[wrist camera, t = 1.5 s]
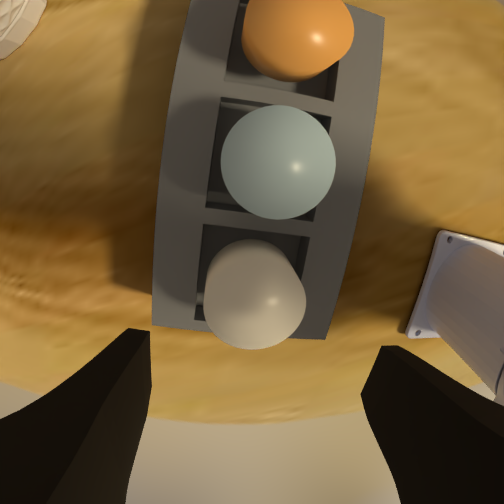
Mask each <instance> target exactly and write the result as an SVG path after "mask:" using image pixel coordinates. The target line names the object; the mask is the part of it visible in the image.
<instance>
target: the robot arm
mask: <svg viewBox="0 0 504 504" xmlns="http://www.w3.org/2000/svg"><path fill="white" fill-rule="evenodd" d="M448 237H449V240H448V241H447V239H448ZM417 330H418V331H417ZM416 331H417V332H416ZM405 335H406V336H407V337H408V338H436V337H441V338H442V339H443V340H444V341H445V342H446V343H447V344H448V345H449V346H450V347H451V348H452V349H453V350H454V351H455V352H456V353H457V354H458V355H459V356H460V357H461V358H462V359H463V360H464V361H465V362H466V363H467V364H468V365H469V367H470V368H471V369H472V370H473V371H474V372H475V373H476V374H477V375H478V376H479V377H480V378H481V379H482V381H483V382H484V383H485V384H486V385H487V386H488V387H489V388H490V389H491V390H492V391H493V392H494V394H495V395H496V397H495V399H494V401H491V400H489V399H487V398H485V397H483V396H481V395H479V394H477V393H476V392H474V391H472V390H471V389H469V388H467V387H465V386H464V385H462V384H460V383H459V382H457V381H455V380H454V379H452V378H451V377H449V376H447V375H446V374H444V373H443V372H441V371H440V370H438V369H436V368H435V367H433V366H432V365H430V364H429V363H427V362H425V361H424V360H422V359H421V358H419V357H417V356H416V355H414V354H412V353H411V352H409V351H407V350H405V349H404V348H401V347H399V346H397V345H393V346H381V348H380V351H379V353H378V356H377V358H376V360H375V363H374V365H373V367H372V370H371V372H370V374H369V377H368V379H367V381H366V383H365V385H364V388H363V390H362V392H361V398H362V402H363V406H364V409H365V413H366V416H367V419H368V421H369V424H370V427H371V429H372V431H373V433H374V436H375V438H376V440H377V442H378V444H379V447H380V449H381V451H382V453H383V455H384V458H385V459H386V462H387V464H388V466H389V469H390V471H391V473H392V476H393V479H394V481H395V484H396V488H397V491H398V494H399V498H400V502H401V504H504V245H503V244H499V243H495V242H491V241H488V240H484V239H480V238H475V237H471V236H467V235H463V234H459V233H454V232H450V231H446V230H441V231H439V233H438V234H437V237H436V241H435V244H434V248H433V252H432V255H431V258H430V262H429V265H428V268H427V272H426V275H425V278H424V281H423V284H422V287H421V290H420V293H419V296H418V299H417V302H416V304H415V307H414V310H413V313H412V315H411V318H410V321H409V323H408V326H407V328H406V331H405ZM151 388H152V381H151V359H150V331H145V330H138V329H132V328H128V329H127V330H125V331H124V332H123V333H122V334H120V335H119V336H118V337H117V338H116V339H115V340H114V341H113V342H111V343H110V344H109V345H108V346H107V347H106V348H105V349H104V350H102V351H101V352H100V353H99V354H98V355H97V356H95V357H94V358H93V359H92V360H91V361H89V362H88V363H87V364H86V365H85V366H83V367H82V368H81V369H80V370H79V371H77V372H76V373H75V374H73V375H72V376H71V377H69V378H68V379H67V380H65V381H64V382H63V383H61V384H60V385H59V386H57V387H56V388H54V389H53V390H52V391H50V392H49V393H47V394H46V395H44V396H43V397H41V398H39V399H38V400H36V401H34V402H33V403H31V404H29V405H27V406H26V407H24V408H22V409H21V410H19V411H17V412H14V413H12V414H10V415H8V416H6V417H4V418H2V419H0V504H125V502H126V494H127V488H128V483H129V478H130V474H131V471H132V467H133V463H134V460H135V456H136V452H137V449H138V445H139V441H140V438H141V435H142V431H143V428H144V424H145V421H146V417H147V412H148V406H149V400H150V394H151Z"/></svg>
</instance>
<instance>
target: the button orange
mask: <svg viewBox="0 0 504 504" xmlns="http://www.w3.org/2000/svg"><path fill="white" fill-rule="evenodd" d="M353 37H354V24H353V20H352V17H351V15H350V12H349V10H348V9H347V7H346V6H345V4H344V3H343V2H342V1H341V0H249V2H248V5H247V8H246V13H245V18H244V24H243V30H242V37H241V42H242V48H243V51H244V54H245V56H246V58H247V59H248V61H249V62H250V63H251V64H252V66H253V67H254V68H255V69H257V70H258V71H259V72H261V73H262V74H264V75H265V76H267V77H269V78H272V79H274V80H278V81H282V82H301V81H306V80H309V79H311V78H313V77H315V76H317V75H318V74H319V73H321V72H322V71H324V70H325V69H326V68H328V67H329V66H331V65H332V64H334V63H335V62H336V61H338V60H339V59H341V58H342V57H343V56H344V55H345V54H346V53H347V51H348V50H349V48H350V46H351V44H352V41H353Z"/></svg>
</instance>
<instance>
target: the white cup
mask: <svg viewBox="0 0 504 504" xmlns="http://www.w3.org/2000/svg"><path fill="white" fill-rule="evenodd" d="M46 3H47V0H0V60H1V59H5V58H6V57H7V56H9V55H10V54H11V53H12V52H13V51H15V50H16V49H17V48H18V47H20V46H21V45H22V44H23V43H24V41H25V40H26V39H27V37H28V36H29V35H30V33H31V32H32V31H33V30H34V28H35V27H36V26H37V24H38V22H39V20H40V17H41V15H42V13H43V11H44V9H45V7H46Z"/></svg>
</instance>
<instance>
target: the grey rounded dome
mask: <svg viewBox="0 0 504 504" xmlns="http://www.w3.org/2000/svg"><path fill="white" fill-rule="evenodd" d="M335 167H336V157H335V151H334V147H333V144H332V141H331V139H330V137H329V135H328V133H327V132H326V130H325V129H324V127H323V126H322V125H321V124H320V123H319V122H318V121H317V120H316V119H315V118H314V117H312V116H311V115H309V114H308V113H306V112H304V111H302V110H300V109H297V108H294V107H290V106H284V105H272V106H265V107H262V108H258V109H256V110H254V111H252V112H250V113H248V114H247V115H245V116H244V117H242V118H241V119H240V120H239V121H238V122H237V123H236V124H235V125H234V126H233V127H232V129H231V130H230V132H229V133H228V135H227V137H226V139H225V142H224V145H223V148H222V153H221V171H222V176H223V180H224V183H225V185H226V187H227V189H228V191H229V193H230V194H231V195H232V197H233V198H234V199H235V200H236V202H237V203H238V204H240V205H241V206H242V207H243V208H244V209H246V210H247V211H249V212H251V213H253V214H255V215H257V216H260V217H263V218H268V219H276V220H281V219H289V218H294V217H297V216H300V215H302V214H304V213H306V212H308V211H309V210H311V209H313V208H314V207H315V206H316V205H317V204H318V203H319V202H320V201H321V200H322V199H323V198H324V196H325V195H326V194H327V192H328V190H329V188H330V187H331V184H332V181H333V178H334V174H335Z"/></svg>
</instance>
